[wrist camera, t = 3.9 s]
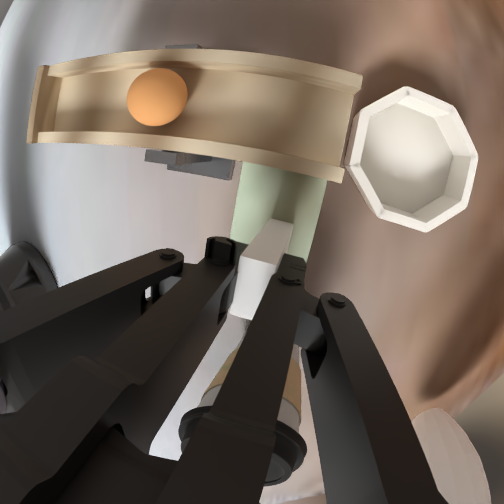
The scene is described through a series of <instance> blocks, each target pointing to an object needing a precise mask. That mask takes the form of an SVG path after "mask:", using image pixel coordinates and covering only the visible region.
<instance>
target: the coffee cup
mask: <svg viewBox="0 0 504 504" xmlns="http://www.w3.org/2000/svg"><path fill="white" fill-rule="evenodd" d="M245 334H246V333H245ZM244 336H245V335H244ZM244 336H243V338H242V339H241V341H240V343H239V344H238V346H237V347H236V349H235V350H234V351H233V352H232V353H231V354H230V355H229V357H228V358H227V360H226V361H225V363H224V364H223V366H222V367H221V369H220V370H219V372H218V373H217V375H216V376H215V378H214V379H213V381H212V382H211V384H210V385H209V387H208V388H207V390H206V391H205V393H204V395H203V396H202V399H201V402H200V404H199V405H198V407H197V408H194V409H192V410H190V411H188V412H187V413H185V414H184V415H183V417H182V419H181V423H180V426H179V431H178V432H179V437H180V440H181V442H182V443H181V451H182V453H183V451H184V449H185V447H186V445H187V443H188V441H189V439H190V437H191V436H192V434H193V432H194V430H195V428H196V426H197V424H198V422H199V420H200V419H201V417H202V416H203V414H204V413H208V412H209V411H210V409H211V407H212V405H213V403H214V401H215V399H216V396H217V394H218V392H219V390H220V388H221V386H222V384H223V382H224V380H225V377H226V375H227V373H228V371H229V369H230V367H231V365H232V363H233V360H234V358H235V356H236V354H237V352H238V350H239V347H240V345H241V343H242V341H243V339H244ZM300 423H301V370H300V367H299V346H298V345H296V344H294V345H293V350H292V355H291V360H290V365H289V370H288V374H287V379H286V383H285V388H284V392H283V397H282V401H281V405H280V410H279V414H278V418H277V422H276V426H275V431H274V434H276V440H275V445H274V450H273V453H272V457H271V461H270V465H269V469H268V472H267V476H266V480H265V483H264V486H272V485H276V484H280V483H282V482H284V481H286V480H287V479H288V478H289V477H290V476H291V474H292V472H294V471H295V470H297V469H298V468H299V467H300V466H301V465H302V463H303V460H304V457H305V455H306V453H307V446H306V443H305V441H304V439H303V438H302V437H301V435H300V434H299V426H300Z"/></svg>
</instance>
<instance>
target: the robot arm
mask: <svg viewBox="0 0 504 504" xmlns="http://www.w3.org/2000/svg"><path fill="white" fill-rule="evenodd" d="M293 226H294V224H292V223H288V222H284V221H280V220H276V219H272V218H270V220H269V221H268V222H267V223H266V224H265V226H264V227H263V228H262V229H261V231H260V232H259V233H258V234H257V235H256V237H255V238H254V239H253V240H252V242H251V243H250V244H245V243H241V242H237V241H235V240H233V239H230V238H226V237H218V236H215V237H209V238H207V243H206V250H205V258H203V259H202V260H201V261H200V262H199V263H198V264H189V263H184V255H183V254H182V253H181V252H179V251H176V250H174V249H170V248H166V249H159V250H155V251H153V252H150V253H147V254H145V255H142V256H139V257H136V258H134V259H131V260H128V261H126V262H123V263H120V264H118V265H115V266H113V267H110V268H107V269H105V270H102V271H100V272H97V273H94V274H92V275H89V276H87V277H84V278H82V279H79V280H77V281H74V282H72V283H69V284H67V285H64V286H62V287H59V288H57V285H56V282H55V280H54V277H53V275H52V273H51V271H50V269H49V267H48V265H47V264H46V262H45V260H44V259H43V257H42V256H41V254H40V253H39V252H38V251H37V250H36V249H35V248H34V247H33V246H32V245H31V244H29V243H27V242H19V243H17V244H15V245H12V246H11V247H9V248H8V249H7V250H6V251H5V252H4V253H3V254H2V255H1V256H0V504H260V503H259V500H260V497H261V494H262V490H263V487H264V483H265V480H266V476H267V472H268V469H269V465H270V461H271V457H272V453H273V450H274V445H275V440H276V434H274V431H275V426H276V422H277V418H278V414H279V410H280V405H281V401H282V397H283V392H284V388H285V383H286V379H287V374H288V370H289V365H290V360H291V355H292V350H293V345H294V344H296V345H298V346H300V347H302V349H301V358H302V363H303V368H304V373H305V378H306V384H307V389H308V394H309V400H310V405H311V411H312V416H313V422H314V427H315V433H316V439H317V445H318V451H319V457H320V463H321V469H322V475H323V482H324V488H325V495H326V501H327V504H449V503H448V502H447V501H446V500H445V498H444V497H443V496H442V495H441V493H440V492H439V491H438V489H437V486H436V483H435V480H434V477H433V475H432V472H431V469H430V467H429V464H428V462H427V459H426V456H425V454H424V451H423V449H422V446H421V444H420V442H419V439H418V437H417V434H416V432H415V430H414V427H413V425H412V423H411V420H410V418H409V416H408V413H407V411H406V409H405V407H404V405H403V402H402V400H401V398H400V396H399V394H398V391H397V389H396V387H395V385H394V383H393V381H392V379H391V377H390V375H389V372H388V370H387V368H386V366H385V364H384V362H383V360H382V358H381V356H380V354H379V352H378V350H377V348H376V346H375V344H374V342H373V340H372V338H371V337H370V335H369V333H368V331H367V329H366V327H365V325H364V323H363V321H362V319H361V318H360V316H359V314H358V312H357V310H356V308H355V306H354V305H353V303H352V302H351V301H350V300H349V299H348V298H346V297H345V296H343V295H341V294H338V293H337V294H336V293H324V294H322V295H321V296H320V299H318V298H316V297H314V296H312V295H310V294H309V293H307V292H306V291H305V289H304V276H305V270H306V264H307V263H306V261H305V260H304V258H301V257H297V256H293V255H290V254H287V251H288V247H289V243H290V238H291V234H292V230H293ZM150 286H151V297H149V298H145V290H146V289H147V288H148V287H150ZM230 306H231V309H230V314H232V315H235V316H238V317H242V318H245V319H249V320H252V321H251V323H250V325H249V328H248V330H247V332H246V334H245V336H244V339H243V341H242V343H241V345H240V347H239V350H238V352H237V354H236V356H235V358H234V360H233V363H232V365H231V367H230V369H229V371H228V373H227V375H226V377H225V380H224V382H223V384H222V386H221V388H220V390H219V392H218V394H217V396H216V399H215V401H214V403H213V405H212V407H211V409H210V411H209V412H208V413H204V414H203V416H202V417H201V419H200V420H199V422H198V424H197V426H196V428H195V430H194V432H193V434H192V436H191V437H190V439H189V441H188V443H187V445H186V447H185V449H184V451H183V453H182V455H181V457H180V459H179V461H176V460H170V459H165V458H161V457H156V456H152V455H148V454H149V450H150V446H151V443H152V441H153V439H154V437H155V436H156V434H157V432H158V431H159V429H160V428H161V426H162V424H163V423H164V421H165V419H166V418H167V416H168V415H169V413H170V411H171V410H172V408H173V406H174V405H175V403H176V402H177V400H178V398H179V397H180V395H181V393H182V392H183V390H184V389H185V387H186V385H187V384H188V382H189V380H190V379H191V377H192V375H193V374H194V372H195V370H196V369H197V367H198V366H199V364H200V362H201V361H202V359H203V357H204V356H205V354H206V352H207V351H208V349H209V347H210V346H211V344H212V342H213V341H214V339H215V337H216V336H217V334H218V332H219V331H220V329H221V327H222V326H223V324H224V322H225V321H226V318H227V312H228V309H229V307H230Z"/></svg>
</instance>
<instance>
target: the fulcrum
mask: <svg viewBox="0 0 504 504" xmlns="http://www.w3.org/2000/svg"><path fill="white" fill-rule="evenodd" d="M165 49H203V48H202V47H201V46H199V45H173V46H166V48H165ZM145 161H148V162H155V163H162V164H168V165H167V169H168V170H174V171H180V172H186V173H191V174H197V175H203V176H208V177H213V178H218V179H224V180H231V179H232V173H233V168H234V162H235V160H231V159H225V158H219V157H213V156H207V155H200V154H193V153H186V152H178V151H170V150H162V149H147V150H146V154H145Z"/></svg>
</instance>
